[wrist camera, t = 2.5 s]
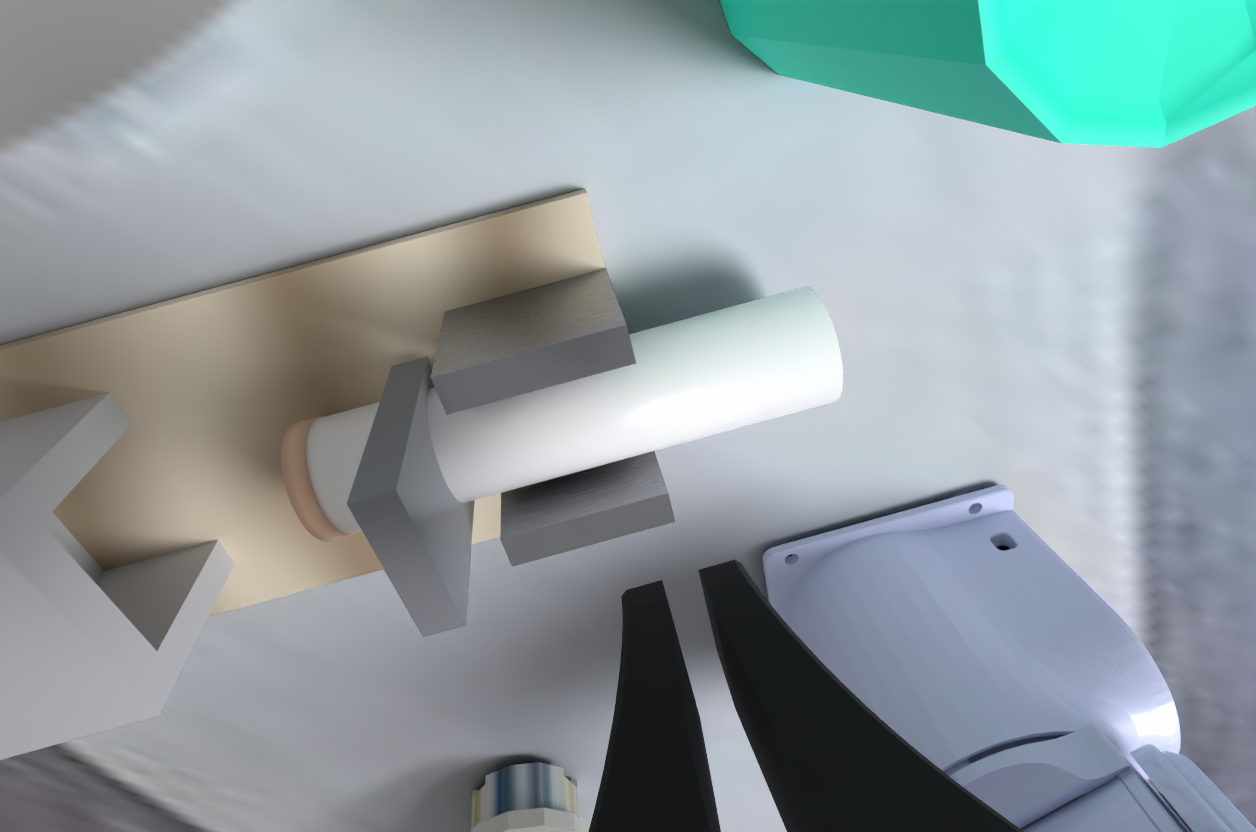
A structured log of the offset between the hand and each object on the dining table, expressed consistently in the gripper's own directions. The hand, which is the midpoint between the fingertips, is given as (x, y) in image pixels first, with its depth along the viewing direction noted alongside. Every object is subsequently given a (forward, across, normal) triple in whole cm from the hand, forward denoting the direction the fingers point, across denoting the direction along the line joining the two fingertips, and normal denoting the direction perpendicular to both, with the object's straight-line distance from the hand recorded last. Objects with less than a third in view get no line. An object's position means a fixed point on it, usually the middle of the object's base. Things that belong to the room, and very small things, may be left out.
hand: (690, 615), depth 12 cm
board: (+10, +8, 0) cm, 13 cm away
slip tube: (+10, +2, 0) cm, 10 cm away
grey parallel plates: (+10, +2, 0) cm, 11 cm away
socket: (+10, +15, 0) cm, 19 cm away
